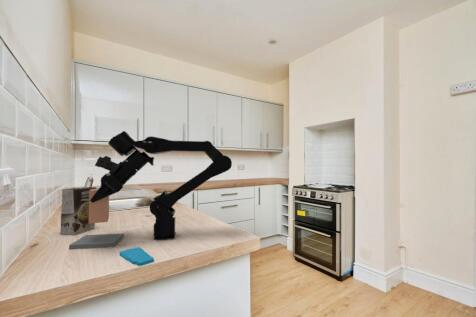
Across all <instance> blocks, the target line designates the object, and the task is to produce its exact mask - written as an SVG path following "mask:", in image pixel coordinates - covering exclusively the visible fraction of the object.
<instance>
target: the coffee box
mask: <svg viewBox="0 0 476 317" xmlns="http://www.w3.org/2000/svg"><path fill="white" fill-rule="evenodd" d="M91 189H97V187H93V186H92V187H87V186H86V187H73V188H72V187H71V188H62V191H61V211H60V212H61V213H60V231H59V234H60V235H71V236H74V235H78V234H82V233H85V232H88V231H91V230H94V229H96V228H95V227H96V223H90V224H89V190H91Z"/></svg>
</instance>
